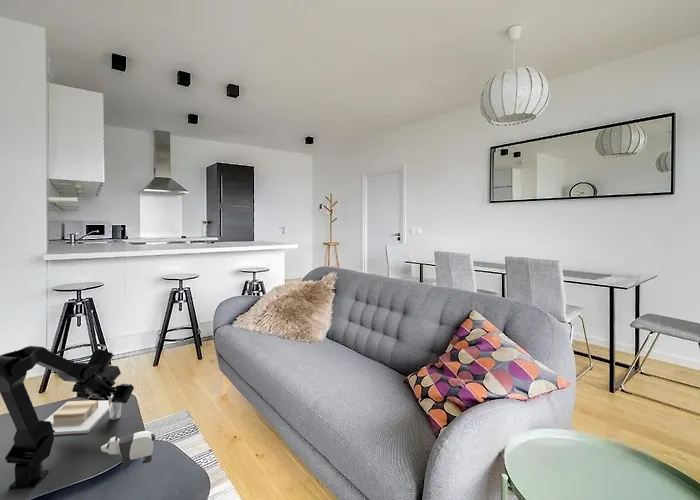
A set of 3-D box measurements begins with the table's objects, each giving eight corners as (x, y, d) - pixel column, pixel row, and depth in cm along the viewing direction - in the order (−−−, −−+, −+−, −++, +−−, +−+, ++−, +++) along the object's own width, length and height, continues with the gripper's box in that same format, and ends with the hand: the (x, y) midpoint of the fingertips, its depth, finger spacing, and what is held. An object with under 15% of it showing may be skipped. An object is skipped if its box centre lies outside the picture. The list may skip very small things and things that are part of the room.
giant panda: (155, 451, 119) (155, 423, 118) (155, 462, 114) (155, 432, 113) (102, 463, 113) (101, 434, 112) (99, 474, 108) (98, 444, 107)
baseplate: (87, 432, 128) (87, 430, 128) (29, 436, 125) (29, 433, 124) (116, 401, 149) (116, 399, 149) (67, 403, 146) (67, 401, 146)
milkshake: (105, 422, 134) (105, 396, 133) (110, 414, 139) (110, 389, 138) (119, 421, 135) (119, 395, 134) (124, 413, 140) (124, 388, 140)
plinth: (84, 421, 133) (84, 413, 133) (53, 423, 131) (53, 415, 131) (98, 407, 143) (98, 400, 142) (69, 408, 141) (69, 401, 141)
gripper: (130, 363, 131) (150, 380, 142) (82, 359, 133) (106, 376, 144) (114, 395, 123) (136, 410, 135) (63, 390, 125) (90, 405, 137)
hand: (117, 399), depth 138 cm, fingers closed on milkshake, 4 cm apart
